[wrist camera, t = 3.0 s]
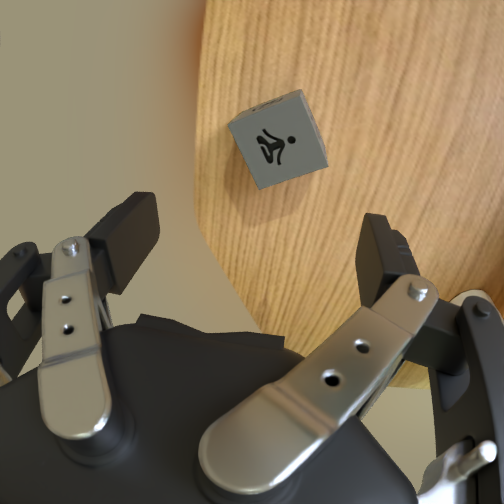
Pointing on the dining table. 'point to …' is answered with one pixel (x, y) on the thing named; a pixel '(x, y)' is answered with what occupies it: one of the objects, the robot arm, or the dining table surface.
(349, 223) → the dining table surface
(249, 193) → the dining table surface
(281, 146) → the dice cube
